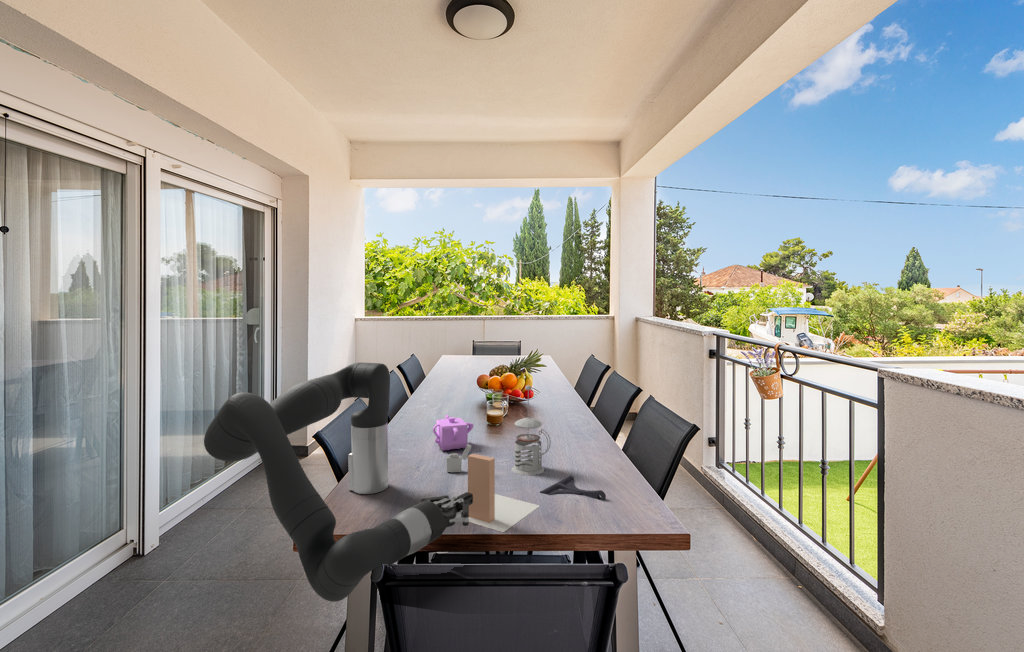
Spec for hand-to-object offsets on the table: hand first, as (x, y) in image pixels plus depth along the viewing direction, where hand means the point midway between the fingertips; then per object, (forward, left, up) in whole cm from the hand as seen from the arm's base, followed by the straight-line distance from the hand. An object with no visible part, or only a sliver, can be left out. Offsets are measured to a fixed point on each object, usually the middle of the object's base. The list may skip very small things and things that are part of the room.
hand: (470, 497), depth 107 cm
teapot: (-24, +56, -7) cm, 61 cm away
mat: (+3, +9, -7) cm, 12 cm away
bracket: (+21, +25, -8) cm, 34 cm away
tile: (+1, +4, -6) cm, 8 cm away
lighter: (-14, +33, -7) cm, 37 cm away
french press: (+6, +39, -7) cm, 40 cm away
